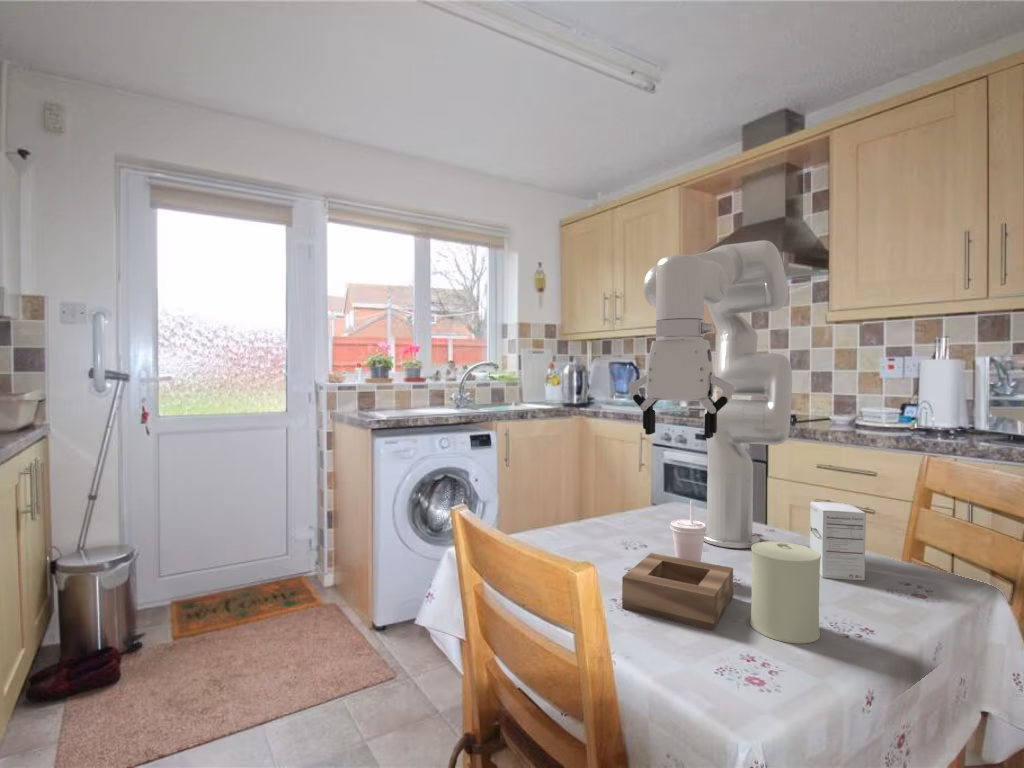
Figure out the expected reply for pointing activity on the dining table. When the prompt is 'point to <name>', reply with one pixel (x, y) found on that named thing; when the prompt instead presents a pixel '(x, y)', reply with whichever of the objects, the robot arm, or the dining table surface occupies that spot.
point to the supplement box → (838, 539)
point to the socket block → (678, 590)
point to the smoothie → (688, 537)
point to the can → (785, 592)
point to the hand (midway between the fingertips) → (678, 435)
